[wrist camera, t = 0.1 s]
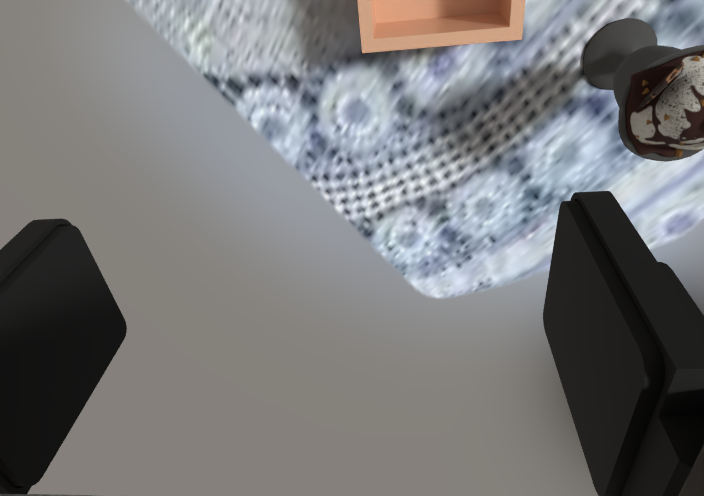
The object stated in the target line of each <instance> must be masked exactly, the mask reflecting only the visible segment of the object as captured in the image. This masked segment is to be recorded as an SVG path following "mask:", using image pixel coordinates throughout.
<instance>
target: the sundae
mask: <svg viewBox="0 0 704 496" xmlns="http://www.w3.org/2000/svg"><path fill="white" fill-rule="evenodd" d="M583 69H584V73H585V75H586V77H587V79H588V80H589V82H591V83H592V84H593V85H595V86H597V87H599V88H602V89H610V90H613V91H614V95H615V99H616V101H617V104H618V106H619V108H620V109H619V120H618V124H619V134H620V137H621V139H622V142H623V143H624V145H625V147H626V148H628V149H629V150H630V151H631V152H633V153H634V154H636V155H638V156H641V157H643V158H646V159H650V160H656V161H673V160H679V159H683V158H686V157H690V156H692V155H694V154H696V153H698V152H699V151H701V150H703V149H704V45H701V46H695V47H691V48H686V49H683V50H681V49H677V48H674V47H668V46H658V45H657V37H656V35H655V32H654V31H653V29H652V27H651V26H649V25H648V24H647V23H645V22H644V21H642V20H638V19H631V18H626V19H622V20H618V21H615V22H612V23H610V24H609V25H607V26H605V27H604V28H603V29H601V30H600V31H598V33H597V34H596V35H595V36H594V37H593V38H592V40H591V41H590V42H589V44H588V46H587V48H586V51H585V54H584V57H583Z"/></svg>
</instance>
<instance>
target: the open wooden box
mask: <svg viewBox="0 0 704 496" xmlns="http://www.w3.org/2000/svg"><path fill="white" fill-rule="evenodd" d="M357 1H358V13H359V24H360V35H361V46H362V53H370V52H381V51H393V50H405V49H416V48H428V47H440V46H451V45H463V44H475V43H486V42H498V41H509V40H521V39H522V33H523V21H524V10H525V0H357Z"/></svg>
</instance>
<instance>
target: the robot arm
mask: <svg viewBox="0 0 704 496" xmlns="http://www.w3.org/2000/svg"><path fill="white" fill-rule="evenodd" d="M543 322H544V328H545V332H546V336H547V339H548V342H549V344H550V348H551V351H552V354H553V357H554V361H555V364H556V367H557V370H558V373H559V377H560V380H561V382H562V386H563V389H564V392H565V395H566V399H567V402H568V405H569V408H570V411H571V414H572V417H573V420H574V424H575V427H576V430H577V433H578V436H579V439H580V443H581V446H582V449H583V452H584V455H585V458H586V461H587V464H588V468H589V471H590V473H591V477H592V480H593V484H594V487H595V489H596V491H597V493H598V495H599V496H704V315H703V314H702V313H701V311H700V310H699V308H698V307H697V305H696V304H695V302H694V301H693V299H692V298H691V296H690V295H689V294H688V292H687V291H686V289H685V288H684V286H683V285H682V283H681V282H680V281H679V279H678V278H677V276H676V275H675V273H674V272H673V270H672V269H671V268H670V267H669V266H668V265H667V264H665V263H662V262H657V261H656V259H655V258H654V256H653V255H652V253H651V252H650V250H649V249H648V247H647V246H646V244H645V243H644V241H643V240H642V238H641V237H640V235H639V234H638V232H637V231H636V229H635V228H634V226H633V224H632V223H631V221H630V220H629V218H628V217H627V215H626V214H625V212H624V211H623V209H622V208H621V206H620V205H619V203H618V202H617V200H616V199H615V197H614V196H613V194H612V193H611V192H610V191H597V192H577V193H574V194H573V195H572V198H571V201H563V202H562V203H561V205H560V209H559V215H558V221H557V228H556V234H555V240H554V247H553V253H552V260H551V266H550V272H549V279H548V285H547V291H546V298H545V304H544V312H543ZM126 329H127V328H126V322H125V319H124V317H123V315H122V313H121V311H120V309H119V307H118V305H117V303H116V302H115V300H114V298H113V296H112V294H111V292H110V290H109V288H108V286H107V284H106V282H105V280H104V278H103V276H102V274H101V272H100V270H99V268H98V266H97V264H96V262H95V260H94V258H93V256H92V254H91V252H90V250H89V248H88V246H87V244H86V242H85V240H84V238H83V236H82V234H81V232H80V231H79V229H78V228H77V227H75V226H73V225H71V223H70V222H68V221H67V220H65V219H44V220H33V221H32V222H30V223H29V224H27V225H26V226H25V227H24V228H23V229H22V230H21V231H20V232H19V233H18V234H17V235H16V236H15V237H14V238H13V239H11V240H10V241H9V242H8V243H7V244H6V245H5V246H4V247H3V248H2V249H1V250H0V496H93V495H37V494H27V493H28V491H29V490H30V488H31V486H33V485H35V484H36V483H37V482H39V481H40V479H41V478H42V477H43V475H44V473H45V472H46V470H47V468H48V466H49V465H50V463H51V461H52V460H53V458H54V456H55V455H56V453H57V451H58V449H59V448H60V446H61V444H62V443H63V441H64V439H65V438H66V436H67V434H68V433H69V431H70V429H71V428H72V426H73V424H74V423H75V421H76V419H77V418H78V416H79V414H80V413H81V411H82V409H83V408H84V406H85V404H86V402H87V401H88V399H89V397H90V396H91V394H92V392H93V391H94V389H95V387H96V385H97V384H98V382H99V381H100V379H101V377H102V375H103V374H104V372H105V370H106V369H107V367H108V365H109V364H110V362H111V360H112V359H113V357H114V355H115V354H116V352H117V350H118V348H119V347H120V345H121V343H122V342H123V340H124V338H125V336H126Z"/></svg>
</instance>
